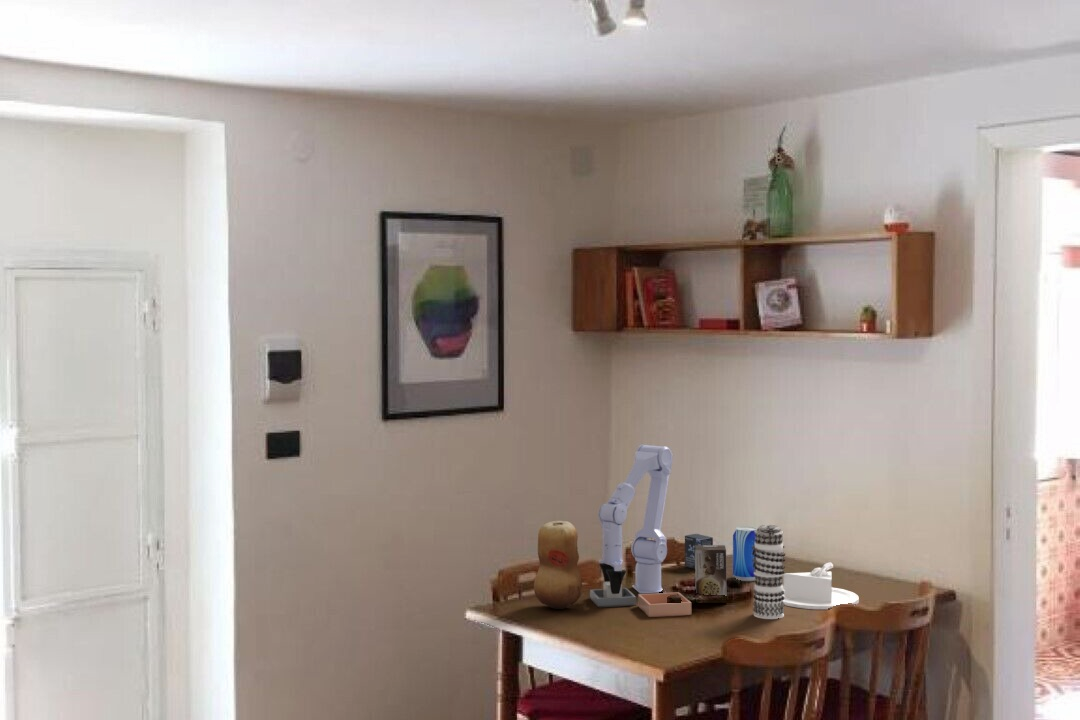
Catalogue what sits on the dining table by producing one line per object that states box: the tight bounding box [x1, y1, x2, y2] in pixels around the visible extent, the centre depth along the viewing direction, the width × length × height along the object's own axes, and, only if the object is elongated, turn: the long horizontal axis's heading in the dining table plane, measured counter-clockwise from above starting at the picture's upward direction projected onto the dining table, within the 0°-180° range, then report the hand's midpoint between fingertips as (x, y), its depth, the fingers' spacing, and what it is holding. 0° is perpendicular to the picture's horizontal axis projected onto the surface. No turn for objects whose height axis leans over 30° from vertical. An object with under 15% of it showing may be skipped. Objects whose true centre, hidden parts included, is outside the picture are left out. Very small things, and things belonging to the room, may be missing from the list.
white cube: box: [602, 581, 623, 598], centre depth 364 cm, size 4×4×5 cm
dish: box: [782, 561, 860, 610], centre depth 365 cm, size 25×25×11 cm
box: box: [684, 533, 714, 570], centre depth 408 cm, size 8×6×11 cm
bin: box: [637, 591, 692, 618], centre depth 353 cm, size 12×12×4 cm
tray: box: [589, 587, 637, 608], centre depth 364 cm, size 11×11×2 cm
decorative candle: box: [752, 524, 786, 620], centre depth 347 cm, size 9×9×25 cm
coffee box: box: [694, 544, 728, 596], centre depth 363 cm, size 9×6×16 cm
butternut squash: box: [533, 520, 583, 610], centre depth 357 cm, size 14×13×25 cm
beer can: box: [732, 525, 758, 582], centre depth 392 cm, size 8×8×16 cm
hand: (612, 590), depth 364 cm, fingers open, 7 cm apart
